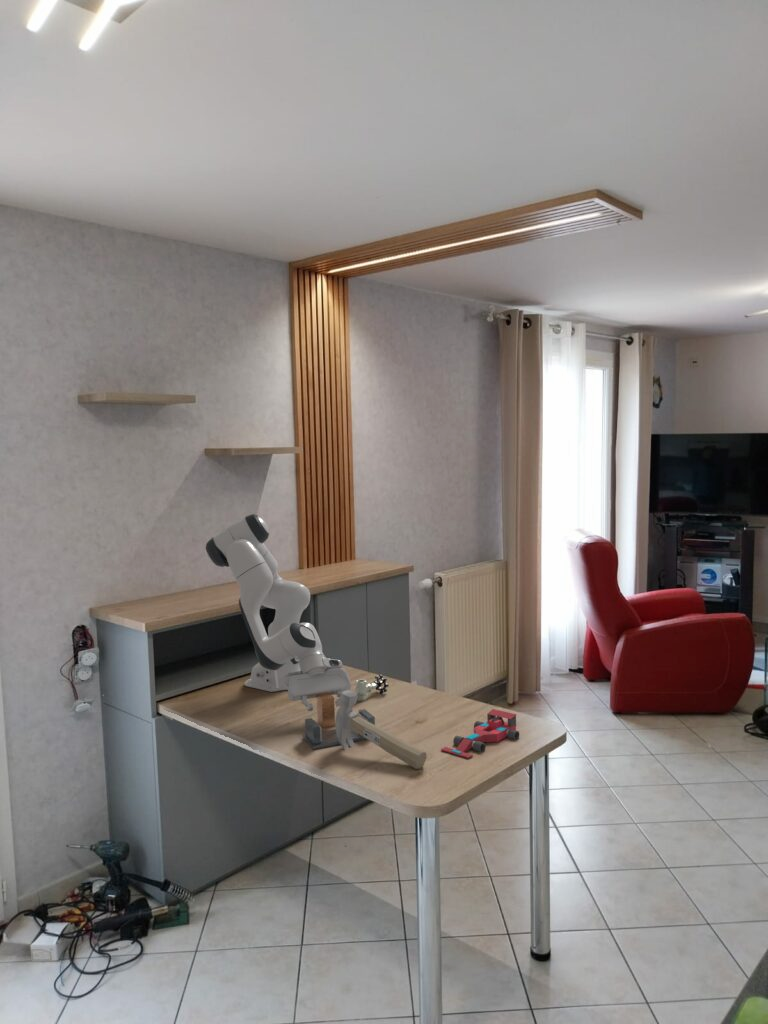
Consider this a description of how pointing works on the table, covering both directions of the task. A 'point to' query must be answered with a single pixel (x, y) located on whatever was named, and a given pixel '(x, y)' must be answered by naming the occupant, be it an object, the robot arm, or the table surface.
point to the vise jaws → (330, 732)
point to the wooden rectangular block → (325, 710)
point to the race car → (486, 733)
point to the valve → (369, 687)
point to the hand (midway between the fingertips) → (325, 707)
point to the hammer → (373, 733)
